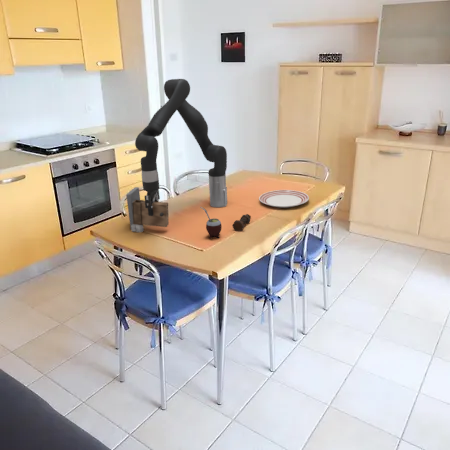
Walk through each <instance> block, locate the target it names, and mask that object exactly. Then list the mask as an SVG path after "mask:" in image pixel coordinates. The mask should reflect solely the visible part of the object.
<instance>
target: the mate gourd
mask: <svg viewBox="0 0 450 450" xmlns="http://www.w3.org/2000/svg"><path fill="white" fill-rule="evenodd" d="M199 208H200V209H202V210H203V211H204V212H205V214H206V217H207V218H208V220H207V222H206V225H205V229H206V232H207V234H208V236H209V237H208V239H209V240H211V239H213V238H215V239H220V235H221V234H220V233H221V231H222V222H221V220H220V219H218V218H210V216H209V212H208V211H207V210H206V209H205V208H204V207H202V206H199Z"/></svg>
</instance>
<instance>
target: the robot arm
mask: <svg viewBox="0 0 450 450" xmlns="http://www.w3.org/2000/svg"><path fill="white" fill-rule="evenodd" d="M163 91H164V94H165V96H166V99H168V100H167V101H166V103H164V104H163V105H162V106H161V107H160V108H159V109H158V110H157V111H156V112H155V113H154V115H152V117H151V119H150V121H149V123H148V124H147V125H146V127H144V128H143V130H141V132H139V134H138V135H137V137H136V139H135V140H134V141H135V142H134V146H135V148H136V150H138V151H140V152H146V154H145V156H143V157H141V159H140V166H141V167H140V168H141V182H142V190H143V191H146V192H147V193H146V195H144V201H145V207H146V208H148V215H149V216H153V204H154V202H160V198H161V197H160V190H159V189H160V182H159V181H160V180H159V179H160V178H159V172H158V167H157V166H158V164H157V159H158V158H157V157H158V153H159V141H158V139H157V138H156V137H160V136H161V135H162V134H163V132H164V130H165V129H166V127H167V124H168V123H169V121H170V120H171V118H172V117H173V115H174V114H175V113H176V111H177V112H178V114H179V115H180V116H181V118H182V119H183V121H184V123H185V125H186V126H187V128H188V130H189V131H190V133H191V134H192V136H193V138H194V139H195V140H196V143H197V144H198V146H199V147H200V150H201V152H202V154H203V156H204V158H205V160H206V161H208V162H211V163H214V164H213V168H209V170H208V187H209V206H210V207H212V208H223V207H227V205H228V188H227V179H226V178H227V177H226V176H227V175H226V172H227V167H228V166H227V165H228V163H227V162H228V161H227V160H228V153H227V149H226V148H225V147H224V146H222V145H218V144H217V145H215V144H214V143H212V140H211V139H210V138H209V135H208V134H209V126H208V123H207V121H206V119H205V117H204V116H203V114H202V113H201V112H200V111H199V110H198V109H197V108H196V107H194V106H193V105H192V104H190V103H189V102H188V100H187V98H188V97H189V95H190V93H191V85H190V83H189V81H188V80H187V79H184V78H172V79H168V80H166V81H165V82H164V84H163Z"/></svg>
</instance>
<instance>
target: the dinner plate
mask: <svg viewBox="0 0 450 450" xmlns="http://www.w3.org/2000/svg"><path fill="white" fill-rule="evenodd" d="M258 200H259V201H260V203H262V204H265V205H267V206H270V207H274V208H281V209H283V208H285V209H287V208H294V207H297V206H301V205H303V204H305V203H307V202H308V201H309V200H310V196H309V195H308V194H307V193H305V192H302V191H300V190H293V189H277V190H271V191H270V190H269V191H266V192H264V193H262V194H261V195H259V197H258Z"/></svg>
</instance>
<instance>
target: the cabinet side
mask: <svg viewBox="0 0 450 450" xmlns="http://www.w3.org/2000/svg"><path fill="white" fill-rule="evenodd" d="M125 195H126V202H127V204H126V205H127V211H128V219H129V227H130V231H131V232H135V233H142V232H144V225H136V224H133V204H132V202H133V201H135V200H141V196H140V195H141V194H140V187H133V188H132V189H131V190H130V191H129V192H128V193H126V194H125Z"/></svg>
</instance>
